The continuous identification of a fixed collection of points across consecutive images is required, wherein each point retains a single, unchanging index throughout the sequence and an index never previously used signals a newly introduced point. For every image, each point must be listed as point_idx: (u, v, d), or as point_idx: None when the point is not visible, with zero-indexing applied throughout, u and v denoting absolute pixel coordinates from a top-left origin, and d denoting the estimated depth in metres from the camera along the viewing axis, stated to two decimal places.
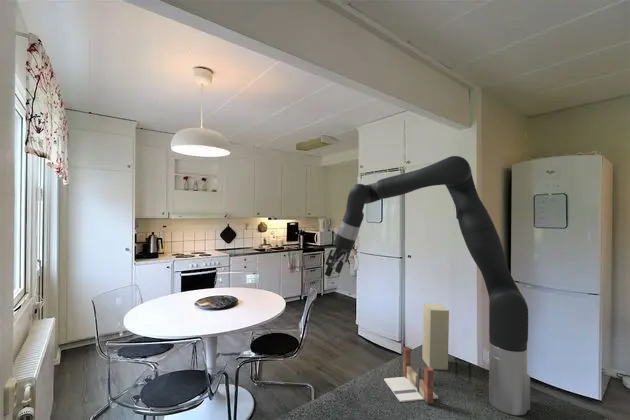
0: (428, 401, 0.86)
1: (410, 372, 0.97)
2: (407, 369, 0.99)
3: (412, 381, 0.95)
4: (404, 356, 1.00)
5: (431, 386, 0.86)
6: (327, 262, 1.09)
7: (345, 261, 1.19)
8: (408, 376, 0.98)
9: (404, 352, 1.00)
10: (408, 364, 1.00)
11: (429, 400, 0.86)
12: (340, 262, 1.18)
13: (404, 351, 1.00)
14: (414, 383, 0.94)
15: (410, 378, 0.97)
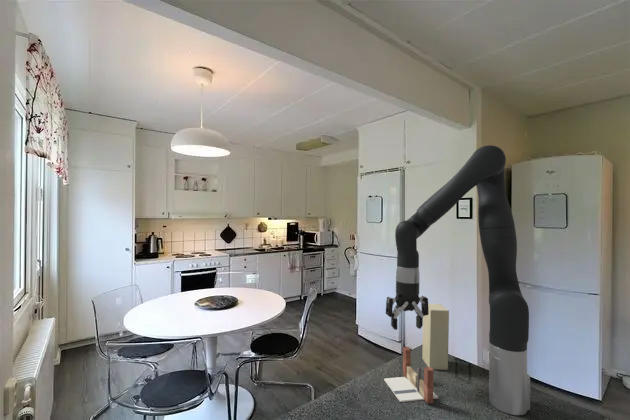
0: (428, 401, 0.86)
1: (410, 372, 0.97)
2: (407, 369, 0.99)
3: (412, 381, 0.95)
4: (404, 356, 1.00)
5: (431, 386, 0.86)
6: (387, 311, 1.00)
7: (425, 313, 1.01)
8: (408, 376, 0.98)
9: (404, 352, 1.00)
10: (408, 364, 1.00)
11: (429, 400, 0.86)
12: (418, 315, 1.02)
13: (404, 351, 1.00)
14: (414, 383, 0.94)
15: (410, 378, 0.97)
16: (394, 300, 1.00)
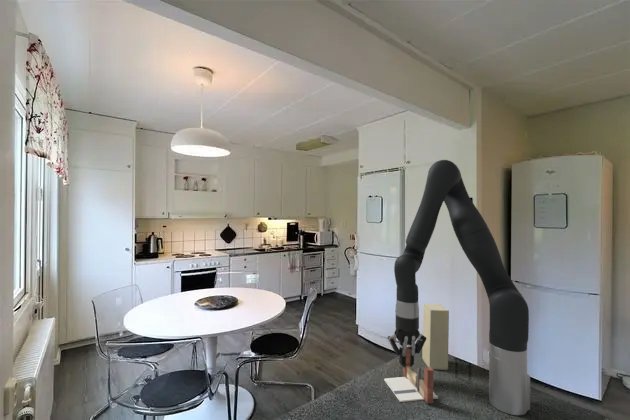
0: (428, 401, 0.86)
1: (410, 372, 0.97)
2: (407, 369, 0.99)
3: (412, 381, 0.95)
4: None
5: (431, 386, 0.86)
6: (395, 349, 1.01)
7: (416, 350, 1.00)
8: (408, 376, 0.98)
9: None
10: (408, 364, 1.00)
11: (429, 400, 0.86)
12: None
13: None
14: (414, 383, 0.94)
15: (410, 378, 0.97)
16: (395, 337, 0.99)
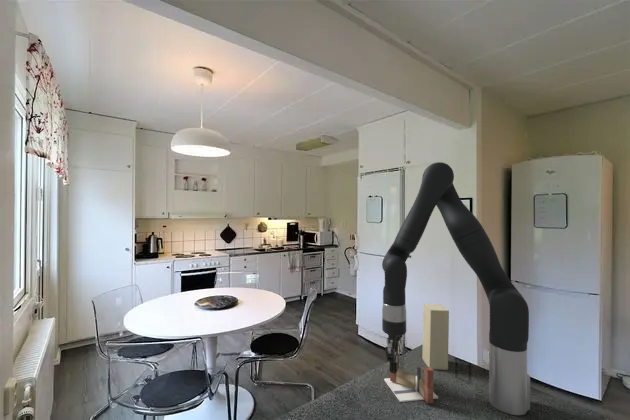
0: (428, 401, 0.86)
1: (404, 375, 0.95)
2: (398, 374, 0.96)
3: (408, 384, 0.94)
4: None
5: (431, 386, 0.86)
6: (389, 358, 0.94)
7: (399, 351, 0.99)
8: (400, 380, 0.95)
9: None
10: None
11: (429, 400, 0.86)
12: None
13: None
14: (412, 385, 0.93)
15: (404, 381, 0.95)
16: (392, 346, 0.93)
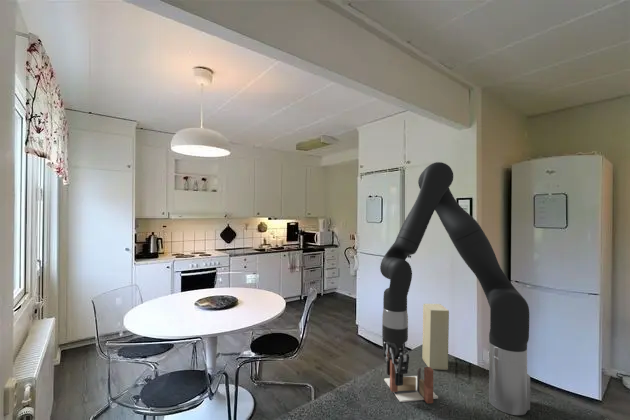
0: (428, 401, 0.86)
1: (405, 381, 0.92)
2: None
3: (409, 388, 0.92)
4: None
5: (431, 386, 0.86)
6: (401, 370, 0.86)
7: None
8: (401, 387, 0.92)
9: None
10: None
11: (429, 400, 0.86)
12: None
13: None
14: (413, 387, 0.92)
15: (405, 387, 0.92)
16: None
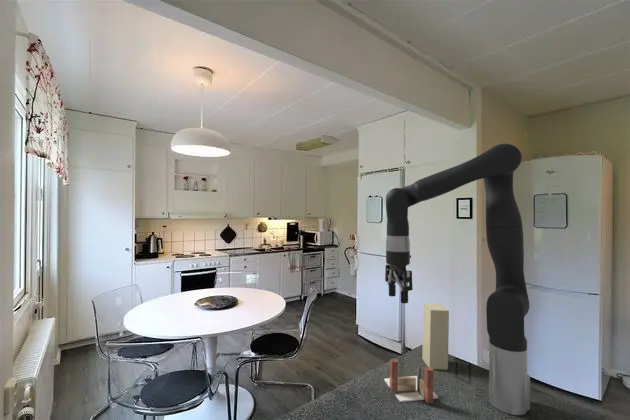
0: (428, 401, 0.86)
1: (405, 381, 0.92)
2: (399, 381, 0.91)
3: (409, 388, 0.92)
4: (395, 370, 0.91)
5: (431, 386, 0.86)
6: None
7: None
8: (401, 387, 0.92)
9: (396, 365, 0.91)
10: None
11: (429, 400, 0.86)
12: (391, 283, 1.02)
13: (395, 364, 0.91)
14: (413, 387, 0.92)
15: (405, 387, 0.92)
16: None
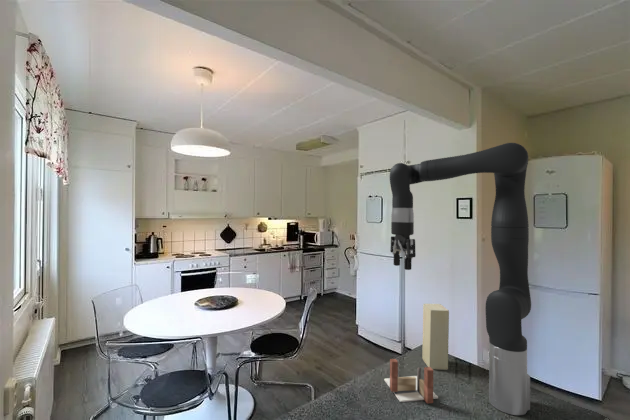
0: (428, 401, 0.86)
1: (405, 381, 0.92)
2: (399, 381, 0.91)
3: (409, 388, 0.92)
4: (395, 370, 0.91)
5: (431, 386, 0.86)
6: (409, 254, 0.98)
7: None
8: (401, 387, 0.92)
9: (396, 365, 0.91)
10: None
11: (429, 400, 0.86)
12: (396, 253, 1.09)
13: (395, 364, 0.91)
14: (413, 387, 0.92)
15: (405, 387, 0.92)
16: None
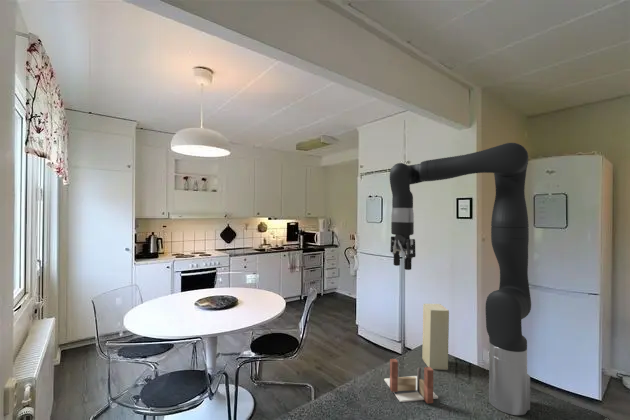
0: (428, 401, 0.86)
1: (405, 381, 0.92)
2: (399, 381, 0.91)
3: (409, 388, 0.92)
4: (395, 370, 0.91)
5: (431, 386, 0.86)
6: (409, 254, 0.98)
7: None
8: (401, 387, 0.92)
9: (396, 365, 0.91)
10: None
11: (429, 400, 0.86)
12: (396, 253, 1.09)
13: (395, 364, 0.91)
14: (413, 387, 0.92)
15: (405, 387, 0.92)
16: None
